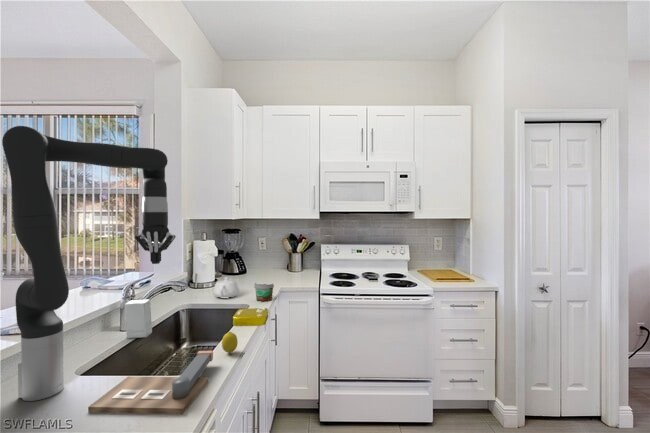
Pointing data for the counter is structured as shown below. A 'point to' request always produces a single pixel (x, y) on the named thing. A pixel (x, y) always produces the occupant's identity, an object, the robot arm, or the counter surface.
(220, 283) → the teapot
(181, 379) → the swing arm
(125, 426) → the counter surface
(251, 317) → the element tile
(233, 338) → the lemon
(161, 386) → the label board
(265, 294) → the food container
